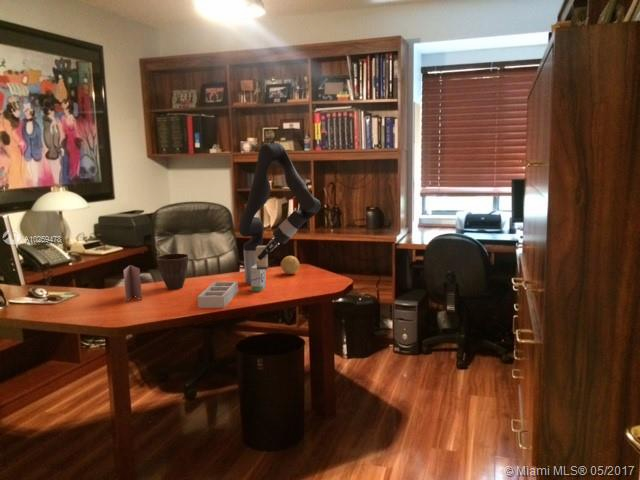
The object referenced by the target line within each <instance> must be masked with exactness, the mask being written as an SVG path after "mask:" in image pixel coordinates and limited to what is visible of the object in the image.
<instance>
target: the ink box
mask: <svg viewBox="0 0 640 480" xmlns="http://www.w3.org/2000/svg"><path fill="white" fill-rule="evenodd" d="M266 270H267V269H257V264H255V265H254V266H252V267H251V284H250V285H251V286H250V288H251V290H250V291H251V292H254V293H255V292H256V293H257V292H258V293H260V292H262V291H263V290H264V289H266V287H267V279H266V278H267V277H266V273H267V272H266Z"/></svg>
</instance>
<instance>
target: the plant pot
mask: <svg viewBox="0 0 640 480" xmlns="http://www.w3.org/2000/svg"><path fill="white" fill-rule="evenodd" d="M156 259H157V265H158V268H159V271H160V275H161V277H162V281H163V282H164V284H165V287H166V288H167V290H171V291H175V290H181V289H183V287H184V284H185V280H186V276H187V273H188V272H187V271H188V266H189V265H188V264H189V255H188V254H186V253H169V254H163V255H158V256H157V257H156Z"/></svg>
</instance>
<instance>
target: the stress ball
mask: <svg viewBox="0 0 640 480" xmlns="http://www.w3.org/2000/svg"><path fill="white" fill-rule="evenodd" d="M280 268H281V270H282V271H283V272H284V273H285V274H287V275H289V274H291V275H294V274H295V273H297V271H299V268H300V261H299V260H298V258H297V257H296V256H293V255H288V256H285V257H284V258H283V259H282V260H281V261H280Z"/></svg>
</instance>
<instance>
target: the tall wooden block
mask: <svg viewBox="0 0 640 480" xmlns="http://www.w3.org/2000/svg"><path fill="white" fill-rule="evenodd" d="M265 248H266V245H262V246H257V247H256V262H257V269H266V270H267V269H268V268H269V260H268V259H269V256H268V255H269V253H268V254H267V255H266V256H265V257H264V258H263V259H262V260H259V259H258V258H257V257H258V256H259V255H260V254H261V253H262V252H263V250H264V249H265ZM266 251H267V252H268V250H267V249H266Z"/></svg>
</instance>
